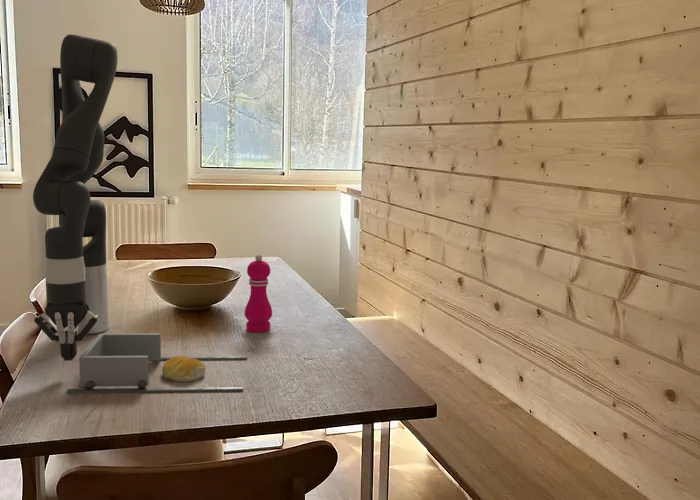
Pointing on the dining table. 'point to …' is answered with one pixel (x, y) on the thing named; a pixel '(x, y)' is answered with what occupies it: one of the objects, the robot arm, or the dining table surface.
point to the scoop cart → (119, 360)
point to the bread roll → (183, 369)
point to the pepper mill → (258, 297)
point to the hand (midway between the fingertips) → (69, 359)
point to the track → (142, 390)
